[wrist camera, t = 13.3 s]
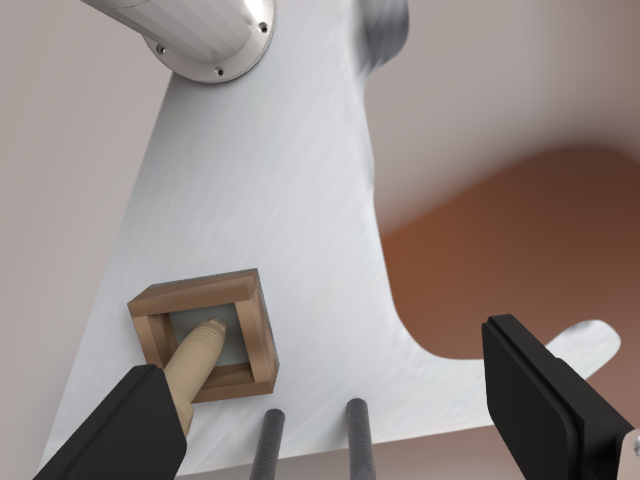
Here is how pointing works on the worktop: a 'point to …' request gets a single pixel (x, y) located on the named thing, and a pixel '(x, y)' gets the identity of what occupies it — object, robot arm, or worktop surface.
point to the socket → (203, 304)
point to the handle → (194, 366)
